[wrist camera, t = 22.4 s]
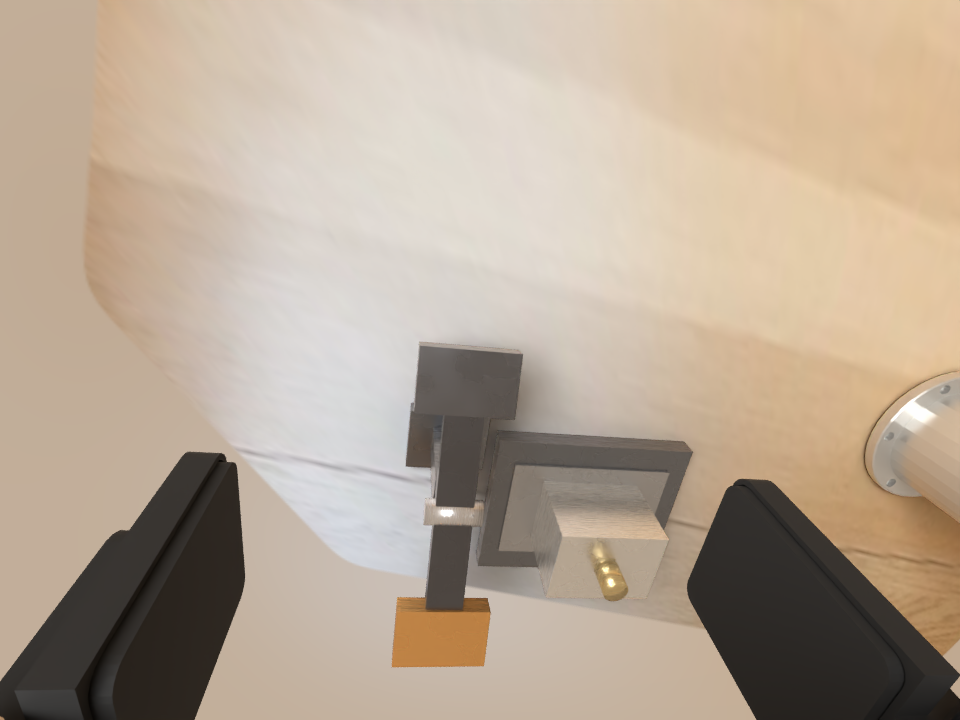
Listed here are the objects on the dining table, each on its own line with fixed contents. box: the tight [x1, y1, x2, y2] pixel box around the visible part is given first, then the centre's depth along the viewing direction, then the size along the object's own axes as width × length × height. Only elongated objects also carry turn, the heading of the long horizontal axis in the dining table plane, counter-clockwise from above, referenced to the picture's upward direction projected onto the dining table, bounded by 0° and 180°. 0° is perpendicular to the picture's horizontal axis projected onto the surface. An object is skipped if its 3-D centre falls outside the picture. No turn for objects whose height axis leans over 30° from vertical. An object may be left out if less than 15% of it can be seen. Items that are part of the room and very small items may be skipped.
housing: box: [531, 481, 669, 601], centre depth 39 cm, size 8×6×8 cm
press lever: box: [392, 342, 523, 667], centre depth 32 cm, size 6×21×2 cm, turn 172°
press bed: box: [406, 403, 693, 567], centre depth 40 cm, size 23×15×7 cm, turn 82°
